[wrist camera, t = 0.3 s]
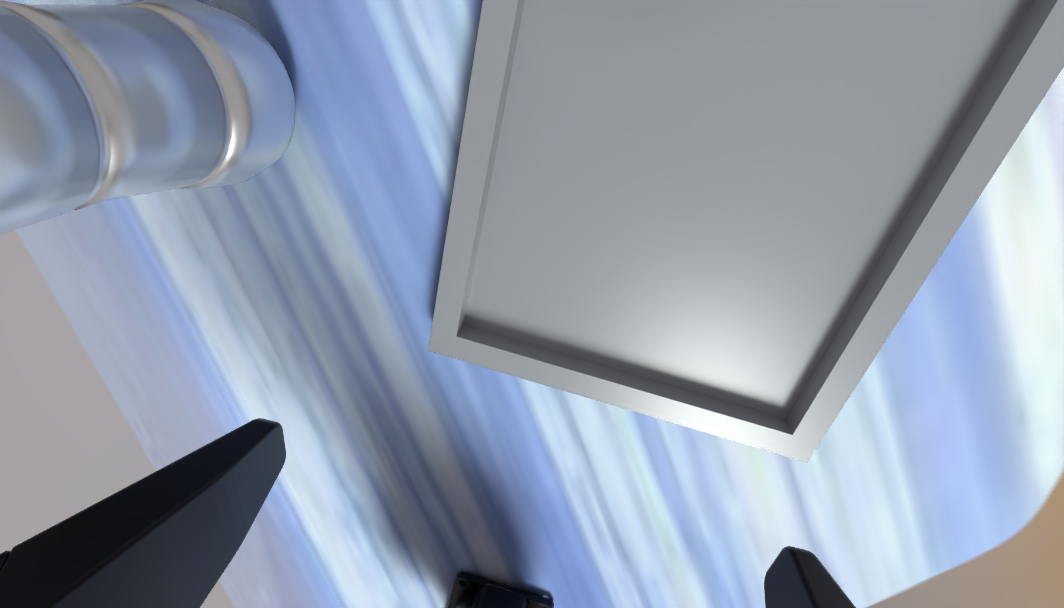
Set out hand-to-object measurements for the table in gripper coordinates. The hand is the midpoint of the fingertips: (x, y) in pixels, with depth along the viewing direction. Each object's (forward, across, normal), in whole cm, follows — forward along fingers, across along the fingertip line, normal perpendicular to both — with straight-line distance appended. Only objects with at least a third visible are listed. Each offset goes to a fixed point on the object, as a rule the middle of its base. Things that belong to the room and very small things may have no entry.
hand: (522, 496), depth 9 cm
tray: (+15, -4, -2) cm, 15 cm away
